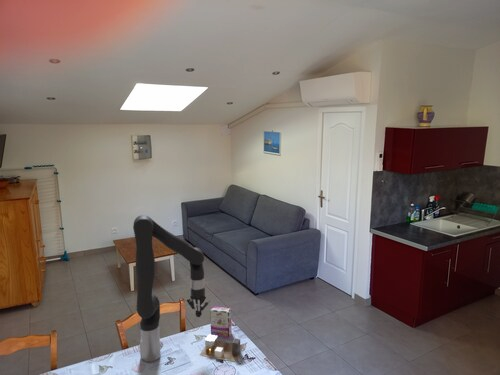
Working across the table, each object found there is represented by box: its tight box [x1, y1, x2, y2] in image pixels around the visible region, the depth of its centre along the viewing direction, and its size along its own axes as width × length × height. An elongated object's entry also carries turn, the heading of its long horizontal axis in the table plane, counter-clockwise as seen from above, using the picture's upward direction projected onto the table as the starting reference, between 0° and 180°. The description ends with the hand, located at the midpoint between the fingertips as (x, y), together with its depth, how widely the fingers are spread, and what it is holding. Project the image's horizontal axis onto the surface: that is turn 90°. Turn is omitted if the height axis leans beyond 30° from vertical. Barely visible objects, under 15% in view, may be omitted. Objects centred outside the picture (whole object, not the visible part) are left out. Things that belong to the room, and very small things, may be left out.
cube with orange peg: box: [204, 334, 219, 354], centre depth 185 cm, size 5×8×6 cm, turn 163°
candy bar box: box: [209, 305, 232, 338], centre depth 199 cm, size 11×5×16 cm, turn 76°
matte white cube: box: [215, 347, 223, 358], centre depth 181 cm, size 4×4×4 cm
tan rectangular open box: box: [199, 338, 245, 363], centre depth 185 cm, size 20×14×8 cm
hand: (198, 316), depth 186 cm, fingers closed
